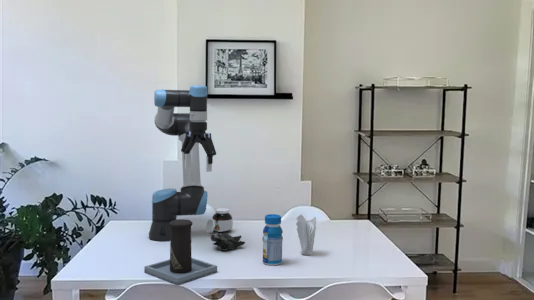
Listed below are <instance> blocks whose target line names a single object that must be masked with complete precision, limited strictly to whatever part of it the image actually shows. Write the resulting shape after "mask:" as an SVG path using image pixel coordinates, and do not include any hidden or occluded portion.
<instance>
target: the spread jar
mask: <svg viewBox="0 0 534 300" xmlns="http://www.w3.org/2000/svg"><path fill="white" fill-rule="evenodd" d="M233 222H234V221H233V216H232V214H230V209H229V208H227V207H223V208H222V207H219V208H216V209H215V213H214V214H213V216H212V219H209V220H208V221H206V226H205V231H206V233H208V234H213V232H215V234H218V233H219V234H222V233H227V234H228V233H230V232H231V231H232V229H233Z"/></svg>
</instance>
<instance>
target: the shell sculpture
mask: <svg viewBox="0 0 534 300" xmlns="http://www.w3.org/2000/svg"><path fill="white" fill-rule="evenodd" d="M296 220H297V221H296V226H297V227H296V231H297V235H298V236H297V237H298V238H299V239H298V240H299V243H300V247H301V251H300V254H301V255H304V256H311V255H312V254H313V253H314V250H313V249H314V244H315V237H316V229H317V226H316V225H317V217H316V216H314V217H312V219H310V220H307V219H306V218H305V217H304V215H303V214H299V215H298V216H297V217H296Z"/></svg>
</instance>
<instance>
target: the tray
mask: <svg viewBox="0 0 534 300" xmlns="http://www.w3.org/2000/svg"><path fill="white" fill-rule="evenodd" d="M191 258H192V270H191V271H190V272H187V273H173V272H171V271H170V258H169V259H166V260H162V261H158V262H156V263H151V264H149V265H145V266H144V268H143V269H144V273H145V274H146V275H149V276H152V277H155V278H158V279H160V280H162V281H166V282H168V283H171V284H174V285H176V286H179V285H182V284H185V283H189V282H192V281H194V280H198V279H201V278H205V277H206V276H209V275H213V274H216V273H218V265H216V264H213V263H211V262H210V263H209V262H205V261H204V260H200V259H196V258H193V257H191Z"/></svg>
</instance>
